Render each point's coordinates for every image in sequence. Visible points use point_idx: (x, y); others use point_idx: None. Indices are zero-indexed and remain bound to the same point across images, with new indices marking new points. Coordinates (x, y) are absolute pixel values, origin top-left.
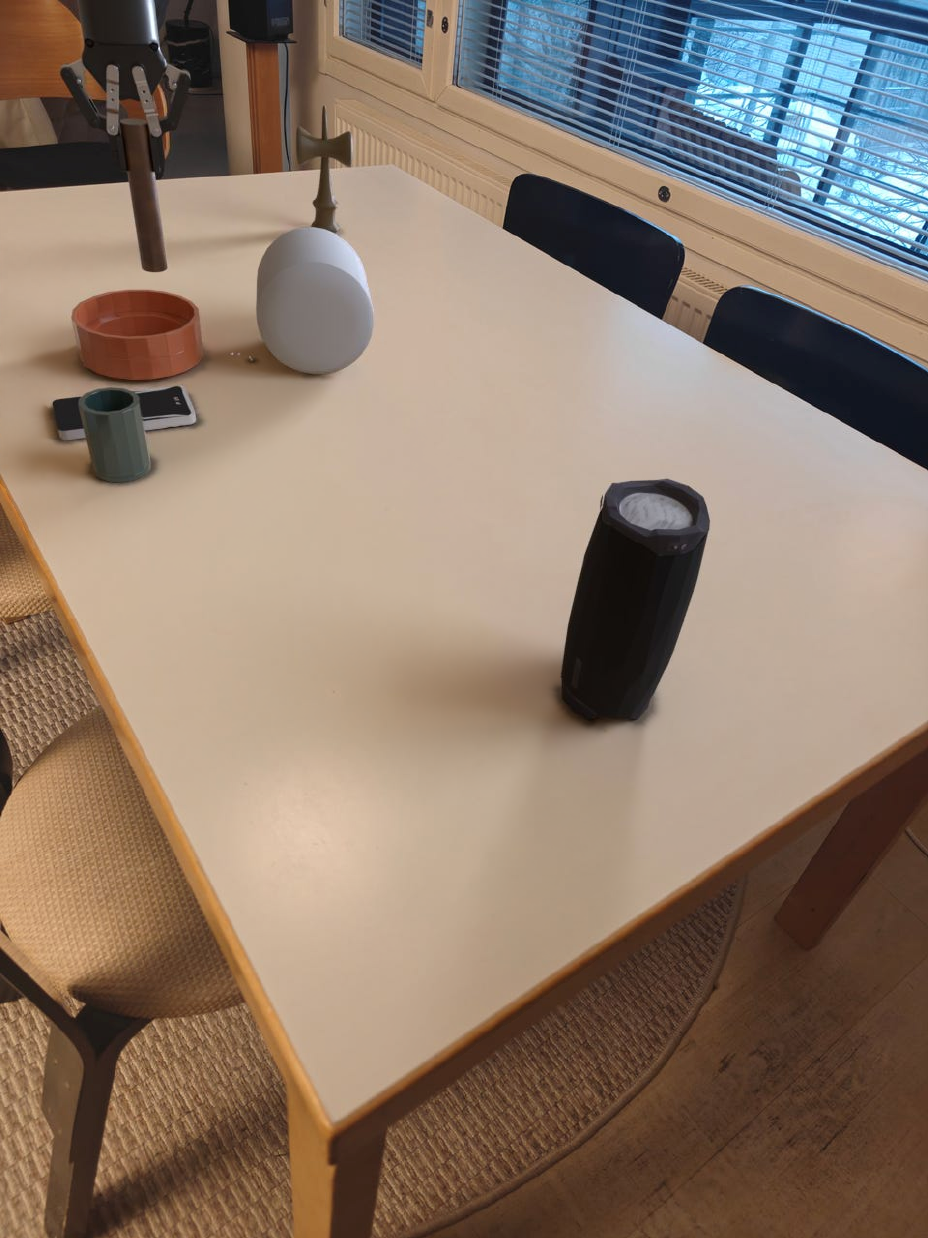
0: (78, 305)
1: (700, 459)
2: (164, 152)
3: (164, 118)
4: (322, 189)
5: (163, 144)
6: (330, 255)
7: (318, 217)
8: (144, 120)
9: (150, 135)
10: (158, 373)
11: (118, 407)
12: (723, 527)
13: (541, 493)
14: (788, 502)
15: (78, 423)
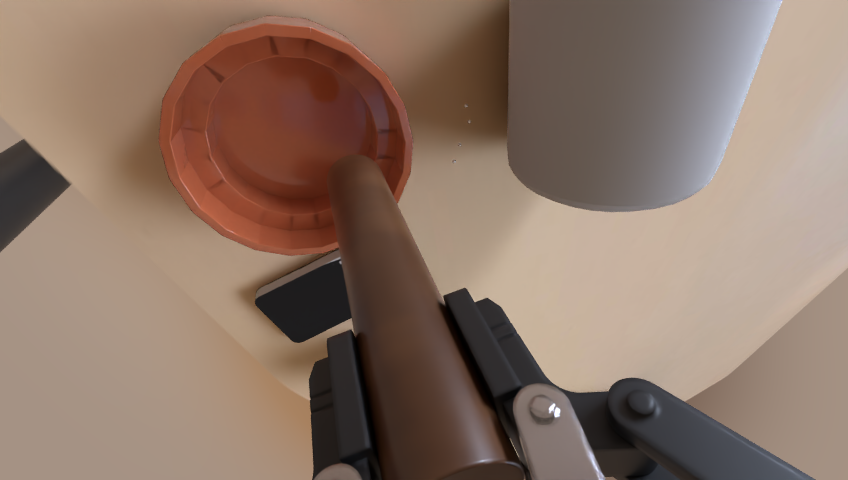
0: (166, 157)
1: (817, 206)
2: (511, 325)
3: (614, 467)
4: None
5: (526, 347)
6: (716, 148)
7: None
8: (507, 467)
9: (503, 423)
10: None
11: None
12: (762, 282)
13: (678, 282)
14: (823, 245)
15: (309, 328)
